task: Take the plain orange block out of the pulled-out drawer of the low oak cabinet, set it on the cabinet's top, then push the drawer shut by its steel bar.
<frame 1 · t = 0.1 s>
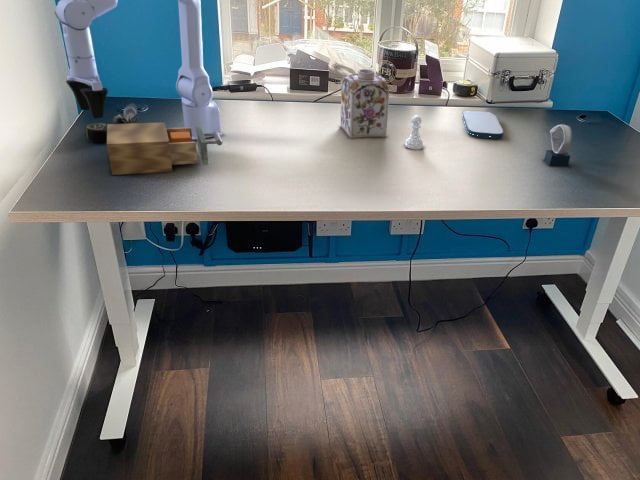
hand: (91, 113, 148), 10 cm above the table, tool pointing down, fingers open, 7 cm apart
eagle figurine: (128, 129, 170), on the table
decorative jar: (362, 132, 184), on the table
chess pawn: (413, 147, 176), on the table
plain orange block: (182, 152, 152), point 2 cm above the table, touching drawer
cabinet: (141, 162, 150), on the table
external hard drive: (481, 128, 197), on the table
drawer: (187, 145, 152), point 4 cm above the table, slide at 7.5 cm, touching plain orange block
tape measure: (103, 140, 162), on the table
watch: (555, 163, 173), on the table
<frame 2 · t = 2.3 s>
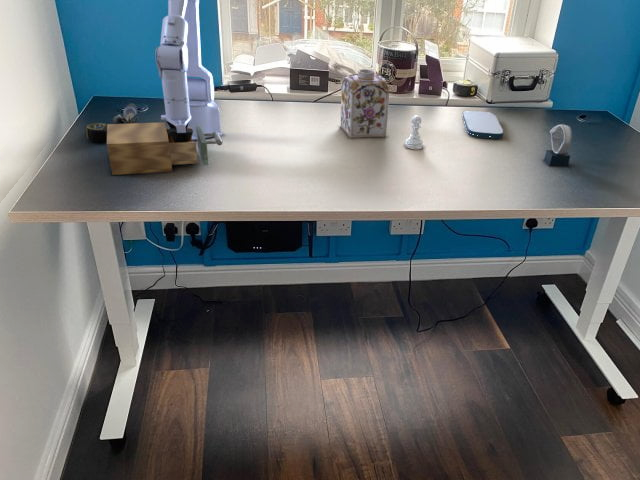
hand: (182, 151, 152), 2 cm above the table, tool pointing down, fingers open, 6 cm apart
nothing on the table moved.
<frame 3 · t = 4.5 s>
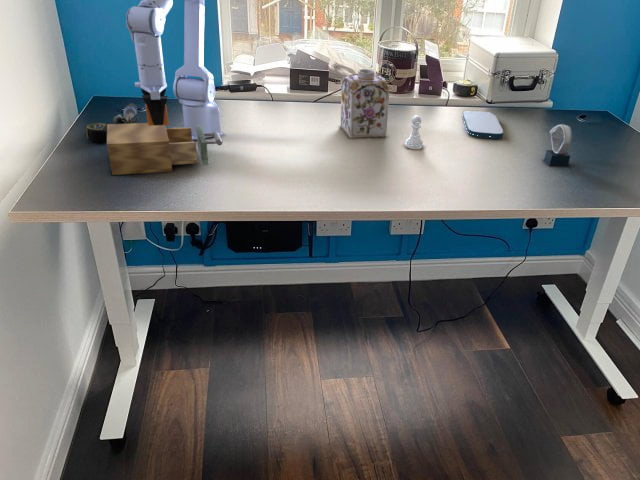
hand: (157, 121, 146), 10 cm above the table, tool pointing down, fingers closed on plain orange block, 4 cm apart
plain orange block: (157, 122, 147), point 10 cm above the table, touching gripper
drawer: (187, 145, 152), point 4 cm above the table, slide at 7.5 cm
everything else where it was.
when the fingers open (8 cm above the table, at t = 6.3 s): plain orange block stays where it is, resting on cabinet.
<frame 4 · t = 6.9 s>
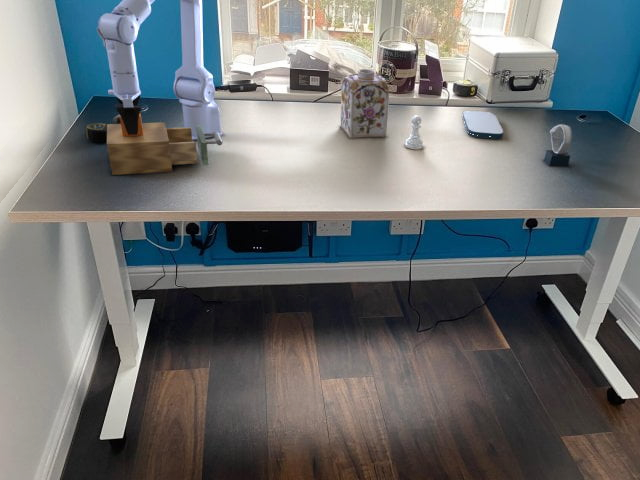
hand: (132, 129, 145), 9 cm above the table, tool pointing down, fingers open, 7 cm apart
plain orange block: (132, 132, 146), point 8 cm above the table, touching cabinet
everything else where it was.
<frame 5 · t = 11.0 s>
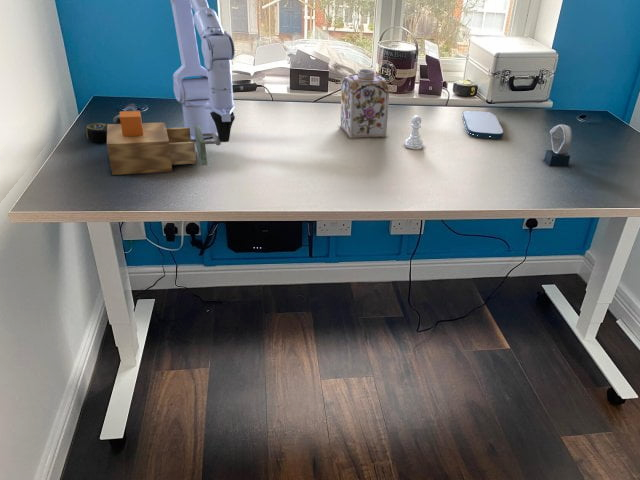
hand: (224, 141, 155), 4 cm above the table, tool pointing down, fingers closed, pressing on drawer
drawer: (185, 145, 152), point 4 cm above the table, slide at 7.2 cm, touching gripper
everything else where it was.
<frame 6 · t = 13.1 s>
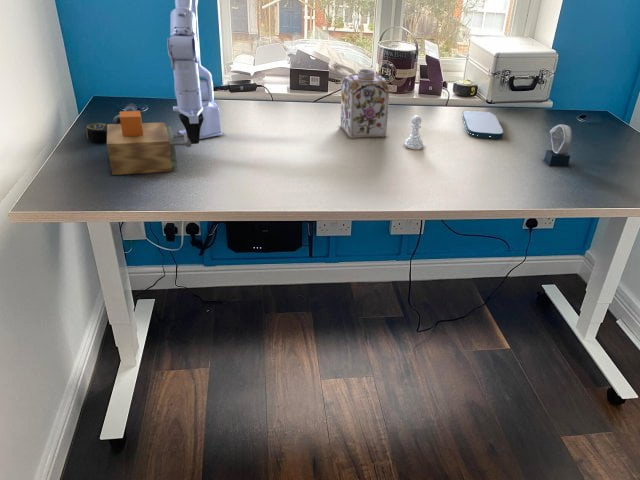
hand: (194, 143, 152), 4 cm above the table, tool pointing down, fingers closed, pressing on drawer
drawer: (155, 146, 149), point 4 cm above the table, slide at 0.0 cm, touching cabinet, gripper
everything else where it was.
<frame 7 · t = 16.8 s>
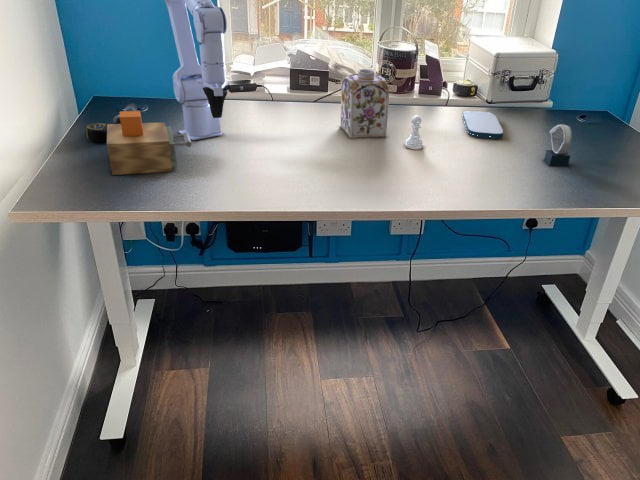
hand: (216, 117, 154), 10 cm above the table, tool pointing down, fingers closed
drawer: (155, 146, 149), point 4 cm above the table, slide at 0.0 cm, touching cabinet
everything else where it was.
at the end: plain orange block inside the target area on the cabinet (0.1 cm from its centre), point 7.6 cm above the cabinet's base; plain orange block tilted 0°; drawer slide at 0.0 cm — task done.
